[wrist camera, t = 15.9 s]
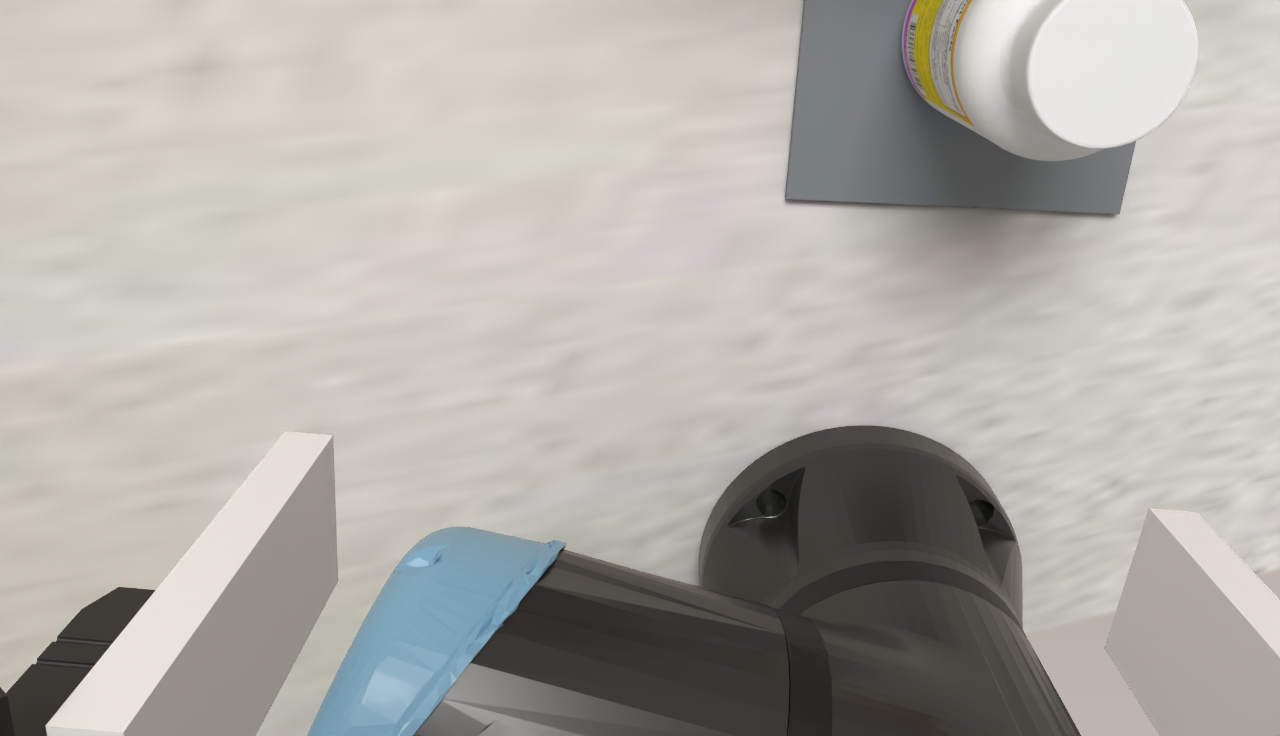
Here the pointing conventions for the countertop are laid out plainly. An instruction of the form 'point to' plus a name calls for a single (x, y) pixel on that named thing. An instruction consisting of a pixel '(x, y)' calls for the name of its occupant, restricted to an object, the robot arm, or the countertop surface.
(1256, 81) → the countertop surface
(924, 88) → the supplement bottle
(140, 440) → the countertop surface
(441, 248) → the countertop surface
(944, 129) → the slate mat
